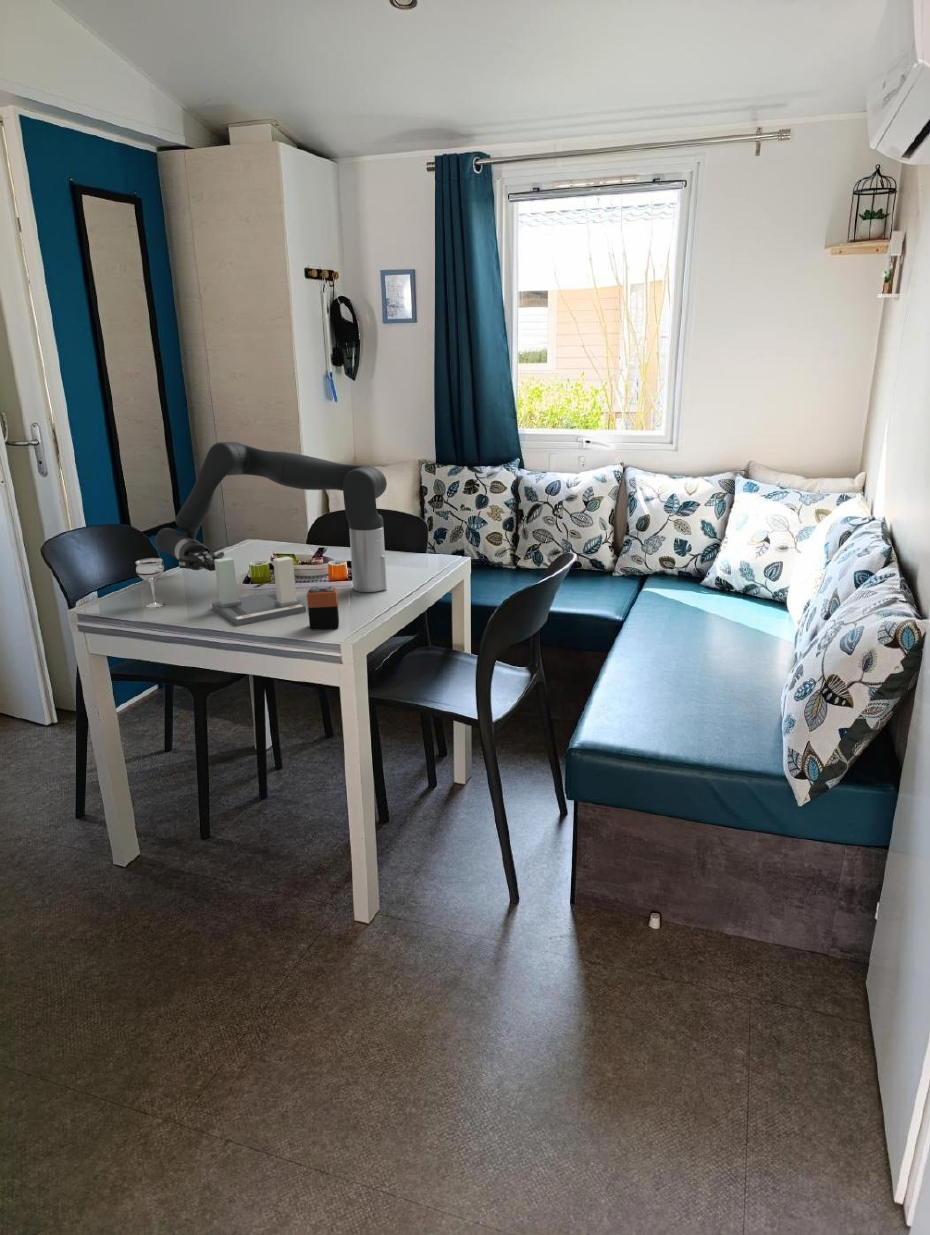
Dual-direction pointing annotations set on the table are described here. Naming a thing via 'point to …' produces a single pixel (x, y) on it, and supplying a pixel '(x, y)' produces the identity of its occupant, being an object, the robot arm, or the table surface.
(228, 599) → the sage tab
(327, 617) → the battery
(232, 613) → the grey square tray
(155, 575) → the wineglass
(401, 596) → the table surface
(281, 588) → the cream tab
